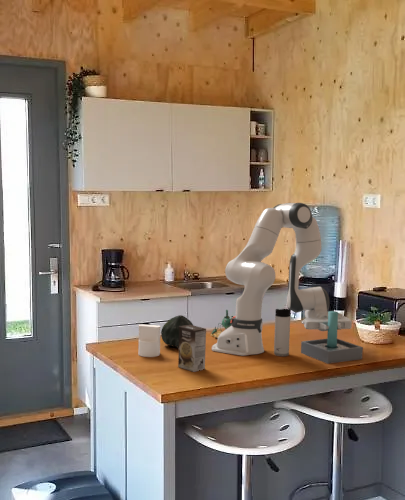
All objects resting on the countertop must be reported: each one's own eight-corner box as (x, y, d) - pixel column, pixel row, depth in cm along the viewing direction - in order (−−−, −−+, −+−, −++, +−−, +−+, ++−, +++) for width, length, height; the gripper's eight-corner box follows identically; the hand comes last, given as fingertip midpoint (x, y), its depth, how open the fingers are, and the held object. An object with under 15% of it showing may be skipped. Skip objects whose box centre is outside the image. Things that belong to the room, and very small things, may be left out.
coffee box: (177, 367, 247) (178, 326, 245) (189, 364, 251) (190, 323, 250) (193, 372, 240) (194, 330, 239) (205, 369, 245) (206, 328, 243)
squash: (171, 327, 290) (164, 307, 280) (202, 332, 286) (196, 311, 275) (161, 353, 281) (153, 333, 271) (193, 358, 277) (186, 338, 266)
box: (327, 363, 256) (328, 351, 256) (300, 352, 272) (301, 341, 272) (362, 358, 265) (362, 347, 264) (334, 348, 280) (334, 337, 280)
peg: (326, 350, 267) (327, 312, 265) (327, 347, 271) (328, 310, 269) (336, 351, 266) (337, 313, 264) (337, 348, 270) (338, 311, 268)
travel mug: (277, 357, 265) (279, 309, 263) (271, 353, 271) (273, 306, 269) (291, 356, 266) (293, 309, 264) (285, 352, 273) (287, 306, 271)
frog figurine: (222, 333, 306) (225, 304, 303) (244, 345, 291) (248, 314, 288) (205, 335, 300) (208, 305, 298) (227, 348, 286) (231, 316, 283)
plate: (328, 358, 260) (329, 351, 260) (311, 351, 271) (311, 344, 270) (351, 355, 266) (352, 348, 265) (333, 348, 276) (333, 342, 276)
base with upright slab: (162, 352, 268) (163, 324, 267) (155, 357, 260) (156, 328, 258) (142, 350, 271) (143, 322, 269) (135, 355, 262) (135, 327, 261)
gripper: (300, 313, 278) (309, 320, 265) (345, 313, 281) (356, 320, 267) (299, 328, 279) (308, 335, 265) (344, 327, 282) (356, 334, 268)
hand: (333, 327), depth 266 cm, fingers closed on peg, 4 cm apart
